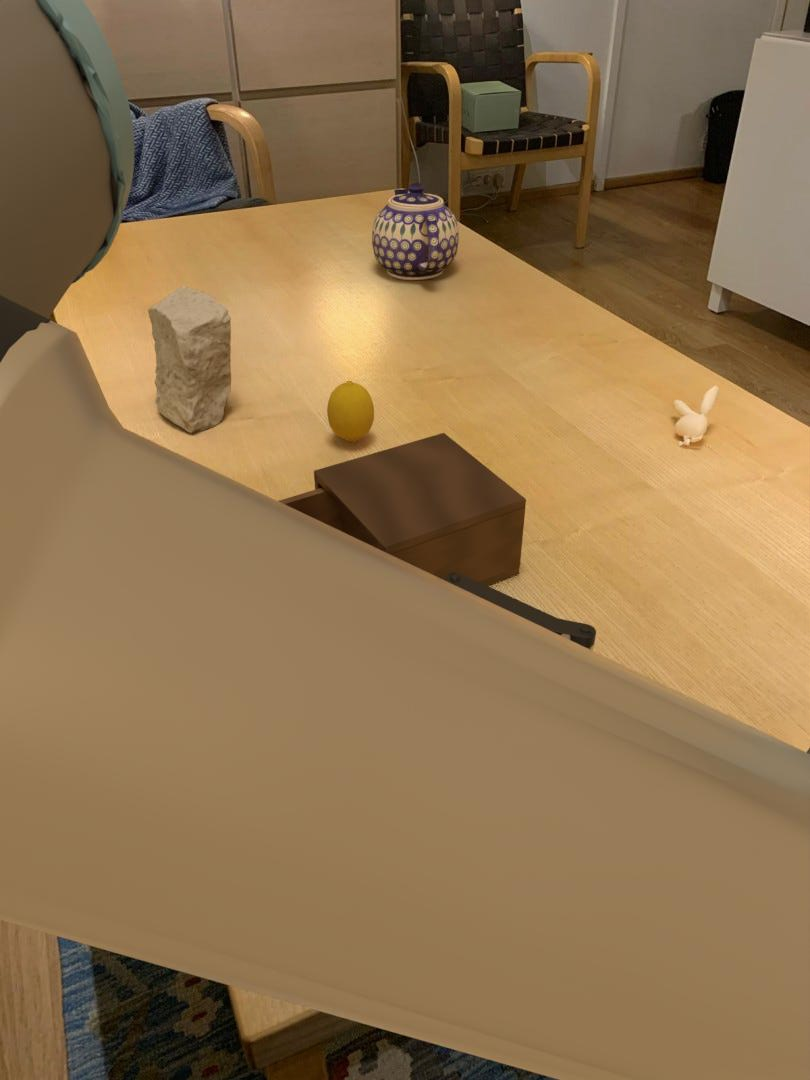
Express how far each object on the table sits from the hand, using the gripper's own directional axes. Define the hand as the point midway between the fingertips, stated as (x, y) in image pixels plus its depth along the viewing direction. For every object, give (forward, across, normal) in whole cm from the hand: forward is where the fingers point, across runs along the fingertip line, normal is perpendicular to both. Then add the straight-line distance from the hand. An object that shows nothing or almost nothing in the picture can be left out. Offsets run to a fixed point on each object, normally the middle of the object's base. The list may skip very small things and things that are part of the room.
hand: (296, 598), depth 54 cm
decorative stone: (+51, +36, -18) cm, 65 cm away
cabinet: (+10, +27, -18) cm, 34 cm away
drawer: (+15, +16, -17) cm, 28 cm away
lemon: (+29, +42, -19) cm, 54 cm away
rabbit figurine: (-3, +67, -19) cm, 70 cm away
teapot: (+57, +96, -19) cm, 113 cm away
